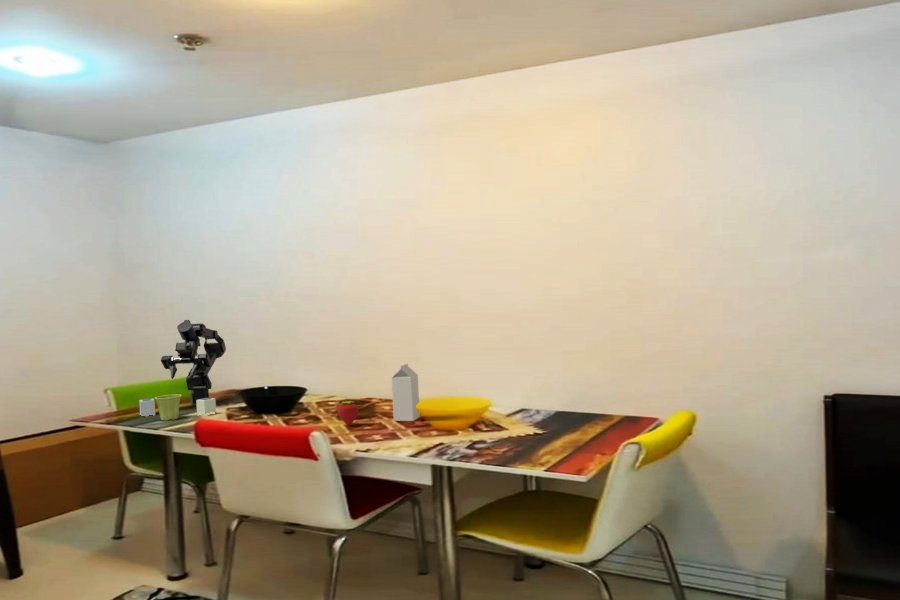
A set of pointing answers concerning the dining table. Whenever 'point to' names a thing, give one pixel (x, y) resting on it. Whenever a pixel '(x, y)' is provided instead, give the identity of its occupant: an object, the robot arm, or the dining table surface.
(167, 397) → the plant pot
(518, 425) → the dining table surface
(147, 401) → the slate block
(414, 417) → the milk carton
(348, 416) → the strawberry
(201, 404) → the sage block
